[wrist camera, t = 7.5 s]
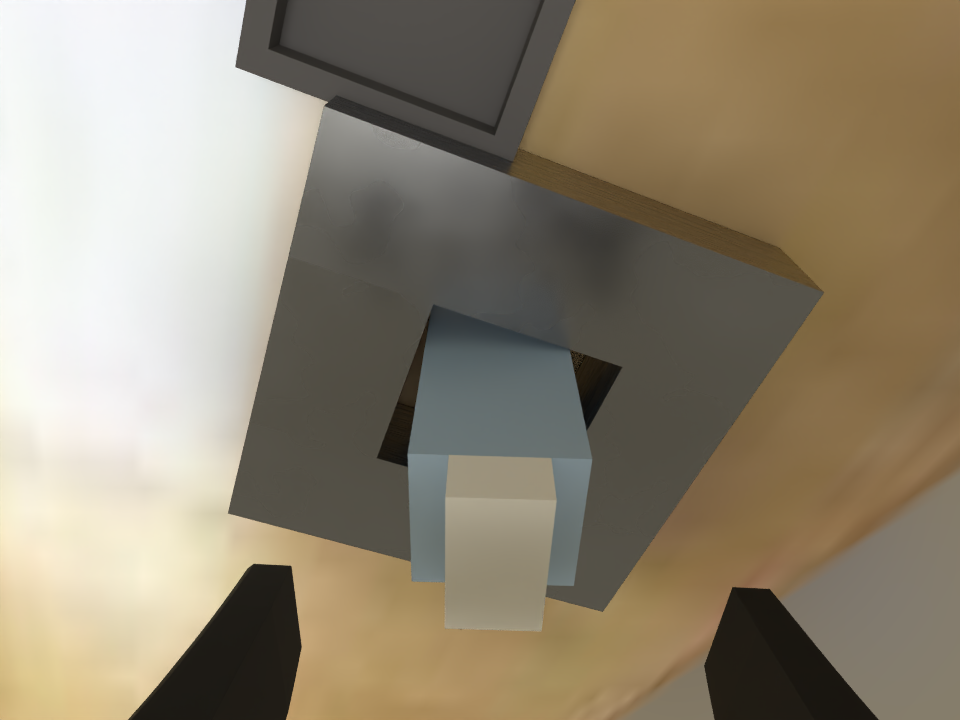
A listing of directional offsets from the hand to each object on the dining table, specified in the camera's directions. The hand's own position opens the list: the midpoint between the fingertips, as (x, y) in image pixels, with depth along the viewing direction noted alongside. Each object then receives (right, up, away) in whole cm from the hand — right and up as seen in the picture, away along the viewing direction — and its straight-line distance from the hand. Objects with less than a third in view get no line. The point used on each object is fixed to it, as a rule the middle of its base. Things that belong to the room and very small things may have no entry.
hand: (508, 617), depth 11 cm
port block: (0, +4, +9) cm, 10 cm away
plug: (0, +4, +9) cm, 10 cm away
